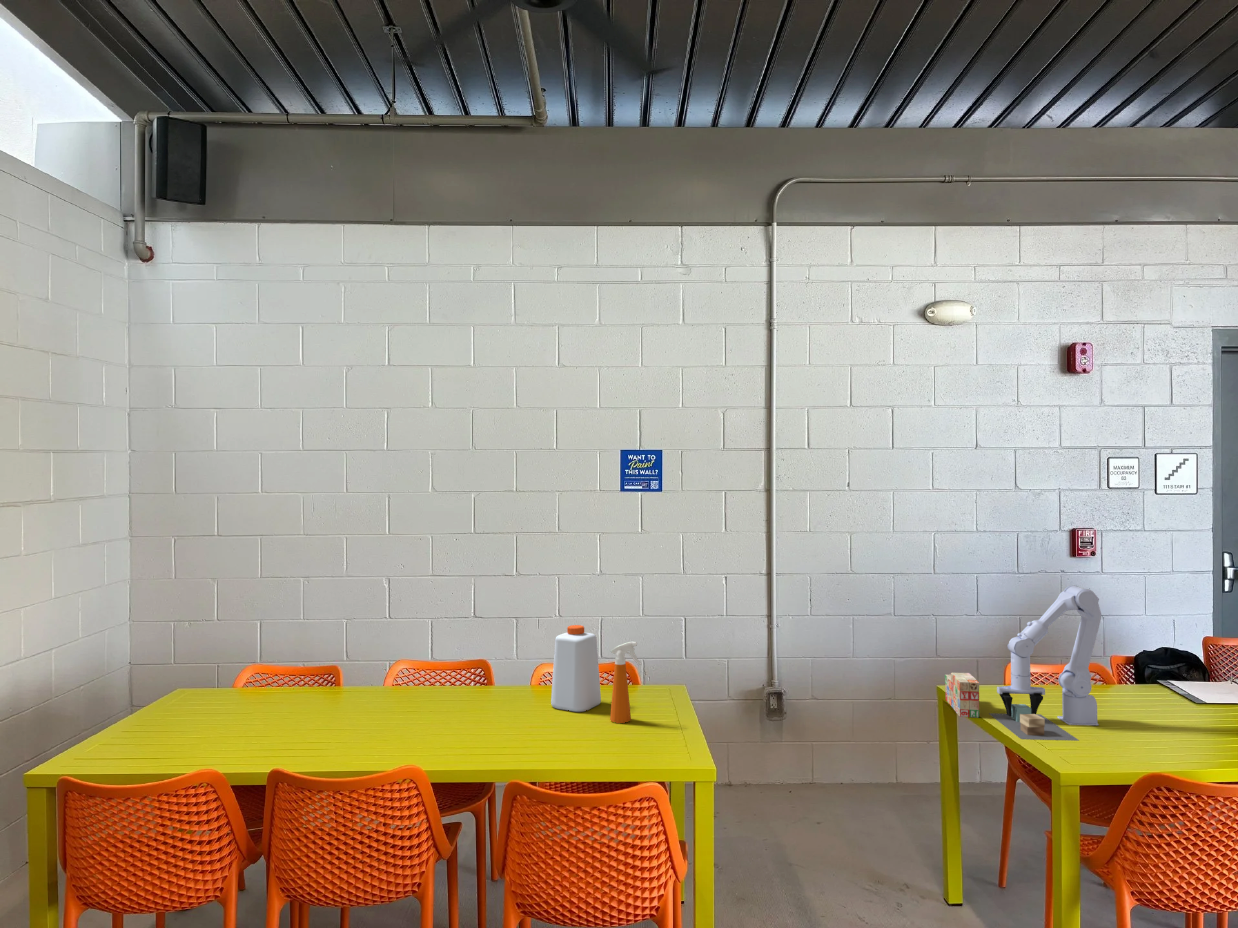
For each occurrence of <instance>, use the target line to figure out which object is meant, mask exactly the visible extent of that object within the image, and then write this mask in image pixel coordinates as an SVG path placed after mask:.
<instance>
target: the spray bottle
mask: <svg viewBox="0 0 1238 928" xmlns="http://www.w3.org/2000/svg"><path fill="white" fill-rule="evenodd" d="M637 645H638V643H637V641H628V642H625V643H622V644H619V645H617V646H615V647H614V648H612V649H611V651H610V652H611V653H612V655H613V654H614V655H615V657H614V670H613V682H612V693H611V694H612V695H611V704H610V705H611V706H610V719H609V721H610V720H611V721H613V722H616V723H615V724H619V723H623V724H626V723H625V722H628V721H630V720H631V721H632V716H631V715H632V714H631V705H630V703H631V702H630V696H629V695H630V694H629V693H630V692H629V685H628V674H627V664H626V657H625V654H626V655H629V657H630V658H632V659H633V660H634V661H635V662H636V663H637V664H638V665H641V666H642V662H640V660H639V659H638V656H637V655H636V654H635V647H636V646H637ZM631 721H630V722H631ZM613 722H612V723H613ZM628 723H629V722H628Z"/></svg>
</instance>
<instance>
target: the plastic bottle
mask: <svg viewBox="0 0 1238 928" xmlns="http://www.w3.org/2000/svg"><path fill="white" fill-rule="evenodd" d="M566 629H567V630H566V632H564V633H561V634H558V635H556V637H555V639H554V651H553V652H554V653H553V666H552V667H553V668H552V669H553V670H552V682H551V684H552V685H551V697H550V698H551V699H550V703H551V707H553V708H554V709H557V710H563V711H568V710H569V712H574V713H581V712H582V713H583V712H587V711H589V710H590V709H593V708H595V707H597V706H599V705H600V704H601V702H602V697H601V696H602V695H601V685H600V684H601V683H600V682H601V681H600V671H599V670H600V667H599V655H598V654H599V653H598V652H599V651H598V644H597V643H598V641H597V636H596V634H595V633H592V632H586V631H585V627H584V625H580V624H574V625H572V624H571V625H568V626H567V628H566ZM586 710H587V711H586Z"/></svg>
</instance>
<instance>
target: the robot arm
mask: <svg viewBox="0 0 1238 928" xmlns="http://www.w3.org/2000/svg"><path fill="white" fill-rule="evenodd" d="M1099 601H1100V598H1099V597H1098V595H1096V593H1095V592H1094V591H1093V590H1091V589H1088V588H1083V587H1079V586H1077V585H1073V584H1071V585H1068V586H1067V587H1065V588H1064V590H1063V591H1061V592H1060V593H1059V594H1058V597H1057V598H1056V599H1055V601H1054V602H1053V603H1052V604H1051V605H1050V606H1049V607H1048V608H1047V610H1046V611H1045V612H1044V613H1043V614H1042V615H1041V617H1040V618H1039V619H1035V620H1032V621H1028V622H1026V625H1027V626H1025V627H1024V628H1023V630H1022V631H1021V632H1018V633H1017V634H1016V635H1017V636H1014V637H1011V639H1010V640H1009V642H1008V644H1007V645H1006V646H1007V650H1009V652H1010V681H1011V682H1010V685H1005V686H996V693H997V694H999V697H1000V698H1001V700H1002V702H1003V705H1004V707H1005V712H1006V713H1005V714H1007V715H1008V716H1012V708H1011V706H1012V704H1013V699H1014V698H1013V697H1012V696H1011V695H1012V694H1013V695H1014V694H1015V695H1028V696H1029V700H1030V702H1029V703H1030V708H1031V714H1038V713H1037V712H1038V709H1039V707H1040V705H1041V703H1042V701H1043V700H1044V696H1046V688H1044V687H1040V686H1039V687H1038V686H1031V655H1033V653H1034V651H1035V646H1037V644H1039V642H1041V640H1043V638H1044V637H1046V635H1047V634H1048V633H1049V627H1050V626H1051V625H1052V624H1053V623H1055V622H1056V621H1057V620H1058V619H1059V618H1060V617H1061V616H1063V614H1065V612H1067V611H1075V610H1076V611H1077V612H1078V614H1079V615H1080V620H1079V621H1080V622H1079V625H1078V629H1077V633H1076V638H1075V641H1074V645H1073V648H1072V652H1071V656H1070V660H1069V662H1068V663H1067V664H1066V665H1065V666H1064V668H1063V671H1062V672H1061V673H1060V674H1059V676H1058V681H1057V682H1058V684H1059V686H1061V688H1062V690H1061V691H1062V692H1061V696H1062V697H1061V698H1062V699H1061V700H1062V702H1061V703H1062V704H1061V705H1062V715H1057V719H1059V720H1060V721H1062V722H1064V723H1066V724H1067V725H1068V726H1069V725H1070V726H1099V725H1100V724H1099V723H1098V702H1097V699H1096V697H1094V695H1092V694H1090V693H1091V691H1092V682H1091V681H1092V675H1091V672H1090V669H1089V667H1090V663H1091V659H1092V655H1093V650H1094V647H1095V643H1096V640H1097V635H1098V631H1099V628H1100V624H1101V620H1102V617H1103V616H1102V612H1101V608H1100V604H1099Z"/></svg>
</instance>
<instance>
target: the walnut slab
mask: <svg viewBox="0 0 1238 928" xmlns="http://www.w3.org/2000/svg"><path fill="white" fill-rule="evenodd" d="M1021 731H1023V732H1024V733H1025V734H1027V735H1044V727H1028V726H1026V725H1024V724H1022V723H1021Z"/></svg>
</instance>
